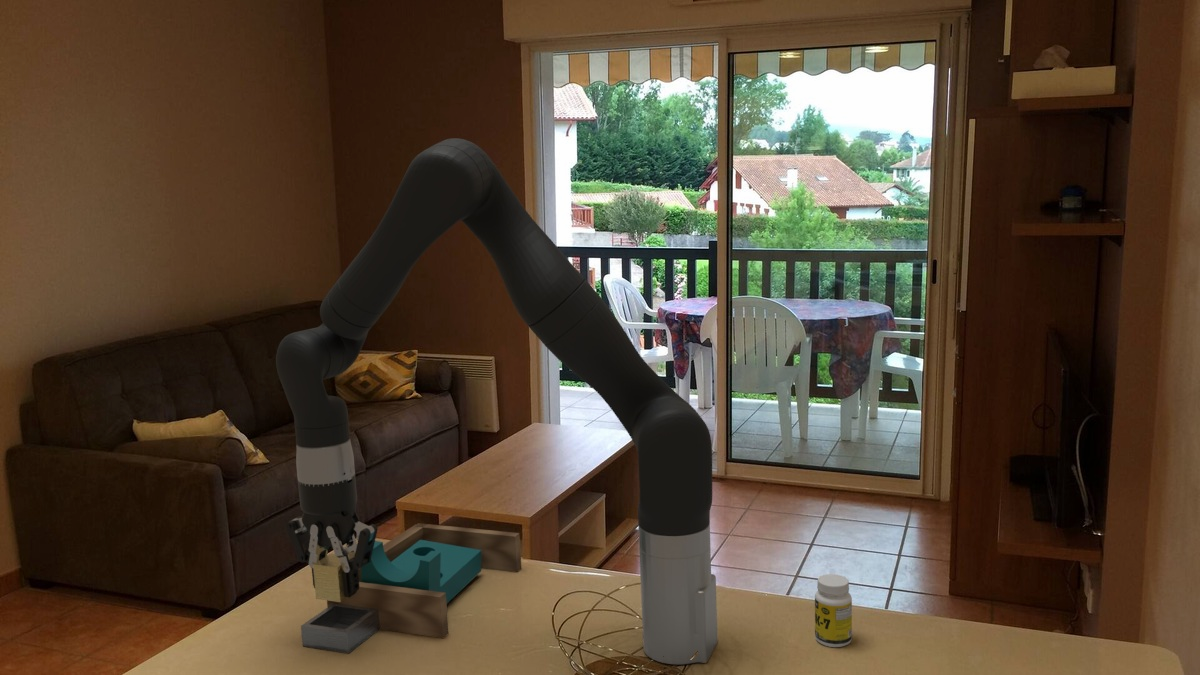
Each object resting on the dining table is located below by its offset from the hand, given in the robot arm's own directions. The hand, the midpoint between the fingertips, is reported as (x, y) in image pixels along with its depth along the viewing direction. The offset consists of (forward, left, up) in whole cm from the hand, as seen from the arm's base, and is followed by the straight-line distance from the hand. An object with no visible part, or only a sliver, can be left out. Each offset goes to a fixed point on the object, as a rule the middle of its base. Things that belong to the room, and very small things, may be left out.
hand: (337, 592), depth 133 cm
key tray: (0, 0, -7) cm, 7 cm away
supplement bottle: (-65, -18, -7) cm, 68 cm away
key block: (0, 0, 0) cm, 0 cm away
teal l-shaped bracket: (-4, -15, -7) cm, 17 cm away
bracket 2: (-5, -16, -7) cm, 18 cm away
